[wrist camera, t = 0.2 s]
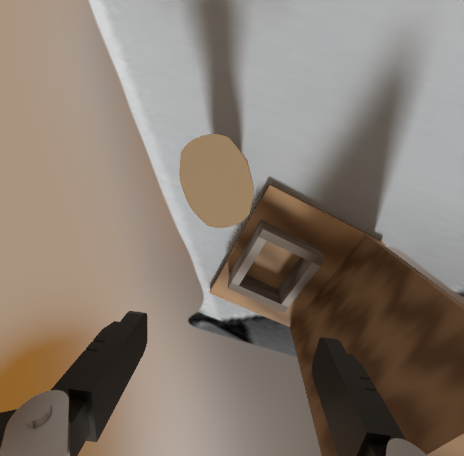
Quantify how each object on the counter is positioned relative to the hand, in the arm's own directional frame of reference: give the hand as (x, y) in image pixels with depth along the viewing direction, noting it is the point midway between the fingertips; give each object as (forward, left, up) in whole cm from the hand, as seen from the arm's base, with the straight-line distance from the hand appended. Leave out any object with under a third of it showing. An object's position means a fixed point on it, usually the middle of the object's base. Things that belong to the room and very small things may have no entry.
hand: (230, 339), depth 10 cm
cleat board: (+5, +12, -23) cm, 26 cm away
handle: (-5, -4, -23) cm, 23 cm away
